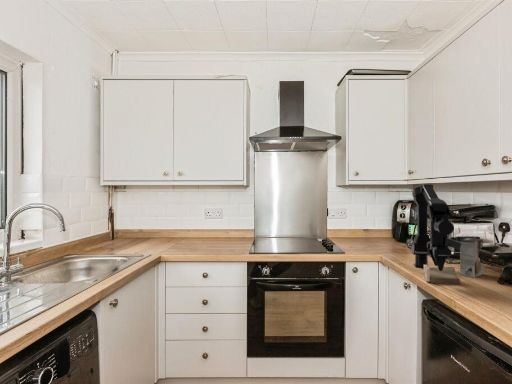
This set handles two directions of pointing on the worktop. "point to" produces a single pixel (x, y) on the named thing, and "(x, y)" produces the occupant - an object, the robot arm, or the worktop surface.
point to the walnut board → (445, 280)
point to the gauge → (438, 272)
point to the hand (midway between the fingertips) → (438, 268)
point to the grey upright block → (470, 257)
